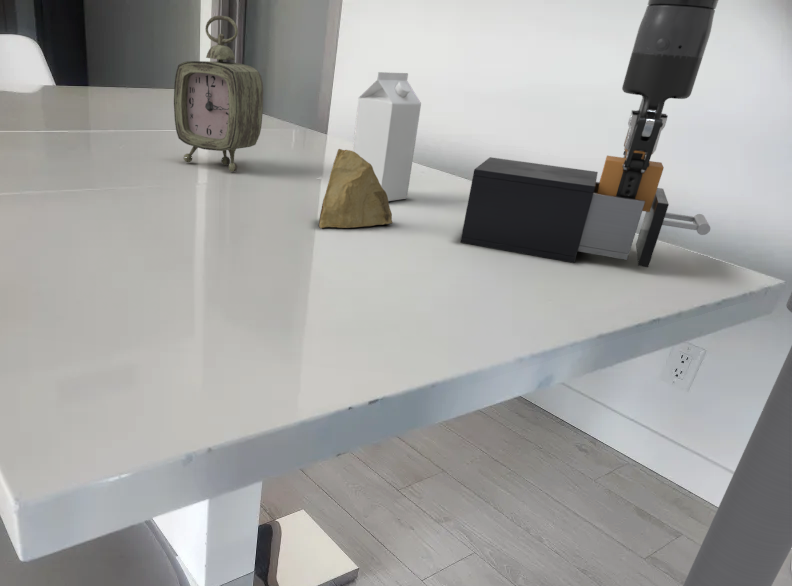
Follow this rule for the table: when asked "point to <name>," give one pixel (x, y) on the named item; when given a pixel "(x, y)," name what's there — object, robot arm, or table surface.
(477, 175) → the black drawer cabinet
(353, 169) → the rock
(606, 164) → the cardboard box
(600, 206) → the drawer
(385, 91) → the milk carton
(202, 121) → the tabletop clock
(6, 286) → the table surface
